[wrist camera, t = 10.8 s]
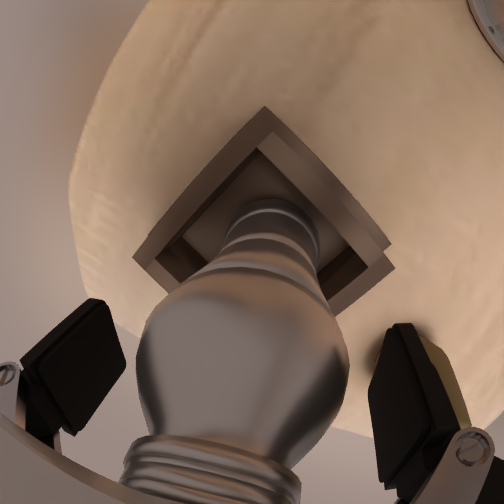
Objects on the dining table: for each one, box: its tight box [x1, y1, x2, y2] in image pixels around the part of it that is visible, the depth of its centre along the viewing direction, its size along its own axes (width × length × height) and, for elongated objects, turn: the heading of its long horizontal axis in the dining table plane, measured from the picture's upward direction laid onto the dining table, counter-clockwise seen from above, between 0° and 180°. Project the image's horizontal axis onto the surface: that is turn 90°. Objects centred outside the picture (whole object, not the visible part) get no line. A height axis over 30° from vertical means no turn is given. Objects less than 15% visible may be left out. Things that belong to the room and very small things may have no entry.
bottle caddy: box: [132, 106, 395, 316], centre depth 20 cm, size 14×14×6 cm
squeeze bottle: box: [373, 335, 472, 429], centre depth 16 cm, size 8×8×18 cm
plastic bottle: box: [118, 199, 350, 504], centre depth 12 cm, size 6×7×20 cm
